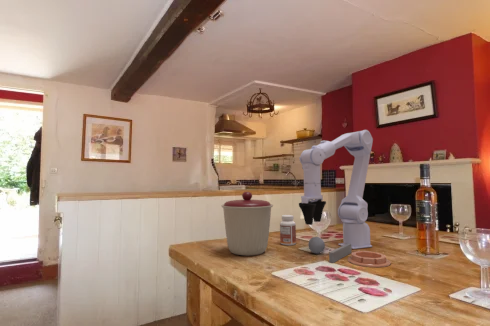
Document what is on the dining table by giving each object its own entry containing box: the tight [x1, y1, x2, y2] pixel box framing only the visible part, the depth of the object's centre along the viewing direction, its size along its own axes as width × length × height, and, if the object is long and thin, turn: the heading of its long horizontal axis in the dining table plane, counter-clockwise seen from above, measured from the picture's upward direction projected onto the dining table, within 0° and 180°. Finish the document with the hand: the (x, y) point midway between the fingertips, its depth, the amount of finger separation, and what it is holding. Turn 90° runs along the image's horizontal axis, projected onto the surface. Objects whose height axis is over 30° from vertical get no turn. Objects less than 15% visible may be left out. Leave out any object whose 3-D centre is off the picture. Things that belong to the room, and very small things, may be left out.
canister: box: [221, 191, 274, 257], centre depth 102 cm, size 18×18×21 cm
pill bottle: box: [279, 214, 297, 246], centre depth 115 cm, size 6×6×11 cm
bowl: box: [347, 250, 391, 268], centre depth 89 cm, size 12×12×2 cm
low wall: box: [328, 243, 353, 264], centre depth 94 cm, size 16×1×3 cm, turn 141°
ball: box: [307, 236, 326, 254], centre depth 100 cm, size 6×6×6 cm
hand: (313, 223), depth 100 cm, fingers open, 7 cm apart
